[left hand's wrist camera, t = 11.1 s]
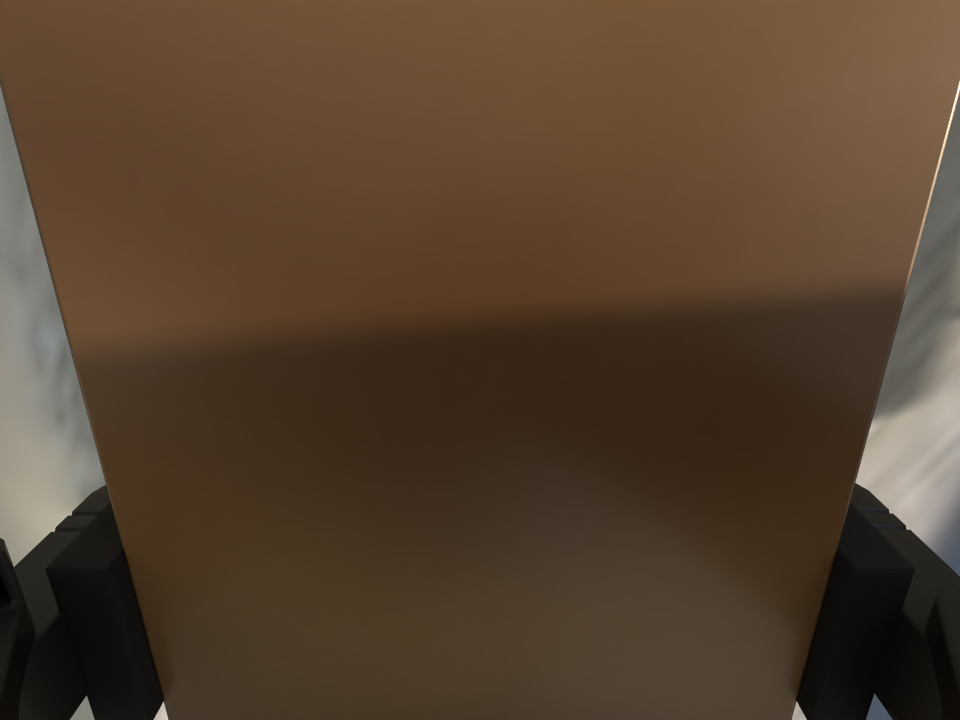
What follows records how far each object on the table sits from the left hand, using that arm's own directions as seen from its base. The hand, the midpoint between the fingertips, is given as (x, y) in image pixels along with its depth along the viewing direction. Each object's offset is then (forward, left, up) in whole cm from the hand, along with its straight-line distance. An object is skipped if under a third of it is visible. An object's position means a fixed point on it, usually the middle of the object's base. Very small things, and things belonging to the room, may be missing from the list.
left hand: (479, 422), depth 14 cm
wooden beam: (+22, +16, -1) cm, 28 cm away
